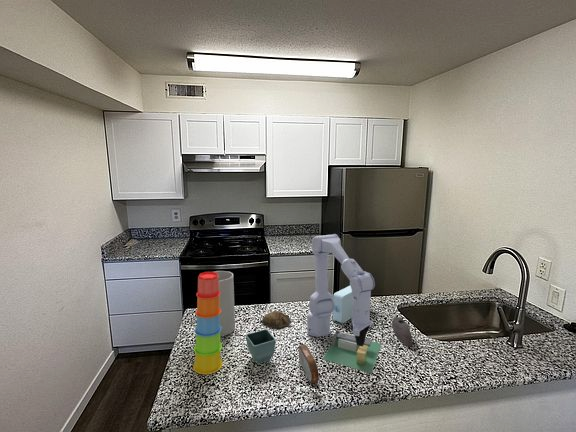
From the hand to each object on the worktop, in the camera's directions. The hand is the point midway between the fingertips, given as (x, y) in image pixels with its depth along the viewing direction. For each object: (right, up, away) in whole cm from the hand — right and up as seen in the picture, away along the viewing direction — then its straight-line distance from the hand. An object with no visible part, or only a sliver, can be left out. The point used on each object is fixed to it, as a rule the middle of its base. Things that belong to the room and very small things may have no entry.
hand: (360, 344), depth 107 cm
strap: (0, -4, +14) cm, 15 cm away
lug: (+2, -8, +5) cm, 10 cm away
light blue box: (+5, -3, +43) cm, 43 cm away
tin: (-18, -10, 0) cm, 21 cm away
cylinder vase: (-55, -6, +29) cm, 62 cm away
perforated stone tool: (+22, -7, +20) cm, 31 cm away
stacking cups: (-54, -10, +4) cm, 55 cm away
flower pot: (-35, -9, +8) cm, 37 cm away
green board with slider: (0, -8, +11) cm, 14 cm away
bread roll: (-30, -5, +36) cm, 47 cm away
